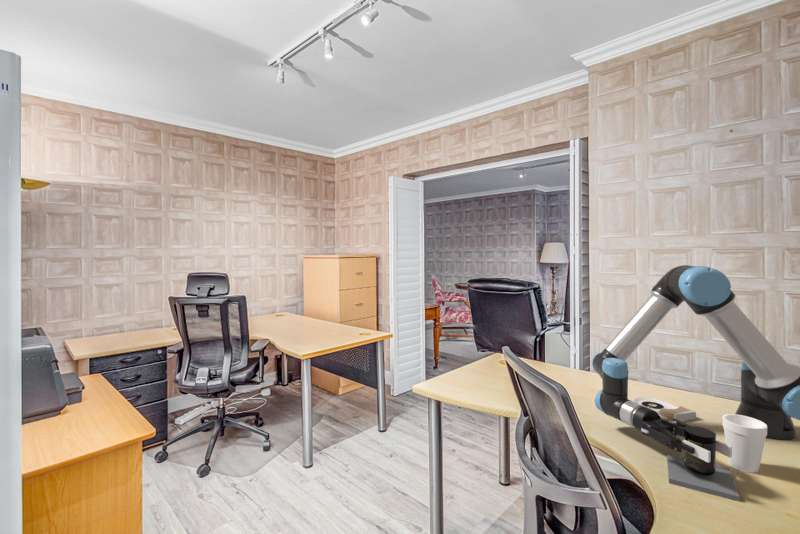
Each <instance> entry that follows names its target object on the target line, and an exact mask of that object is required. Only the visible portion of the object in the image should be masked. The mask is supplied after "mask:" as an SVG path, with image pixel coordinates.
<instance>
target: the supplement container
mask: <svg viewBox="0 0 800 534" xmlns="http://www.w3.org/2000/svg"><path fill="white" fill-rule="evenodd" d="M683 438H684V439H683V440H686V441H689V442H691V443H693V444H695V445H697V446H699V447H701V448H704V449H706V450H708V451H710V452H711V459H710V462H709V463H708V462H706V461H704V460H702V459H700V458H698V457H696V456H694V455H692V454H690V453H688V452H686V451H684V450H683V452H684V453H683V454H684V455H683V458H684V464H685V466H686V467H687V468H688V469H689V470H690V471H692V472H694V473H697V474H700V475H706V476H709V475H713V474H714V473H715V471H716V466H717V465H716V460H717V458H716V457H717V453H716V452H717V451H716V440H717V434H716V433H715V432H714V431H713V430H710V429H708V428H705V427H703V426H702V427H701V426H697V425H690V426H686V427H685V428H684V437H683Z"/></svg>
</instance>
